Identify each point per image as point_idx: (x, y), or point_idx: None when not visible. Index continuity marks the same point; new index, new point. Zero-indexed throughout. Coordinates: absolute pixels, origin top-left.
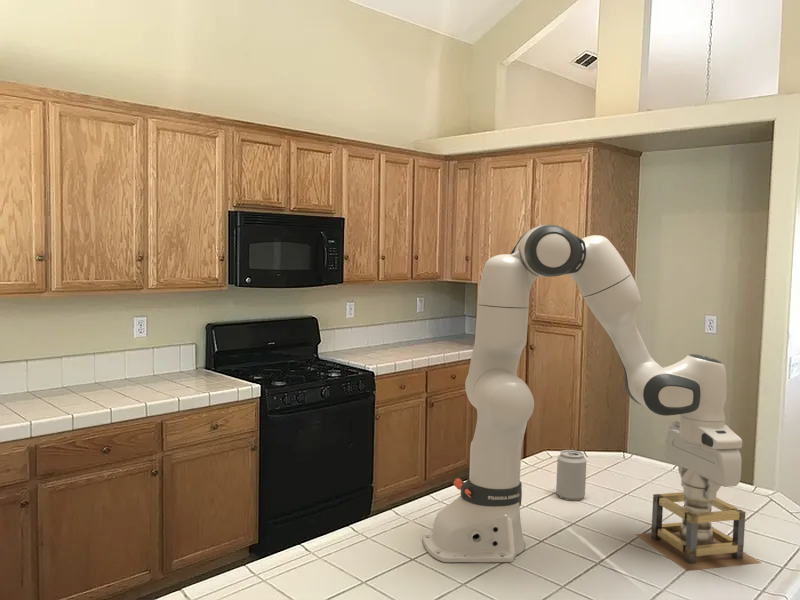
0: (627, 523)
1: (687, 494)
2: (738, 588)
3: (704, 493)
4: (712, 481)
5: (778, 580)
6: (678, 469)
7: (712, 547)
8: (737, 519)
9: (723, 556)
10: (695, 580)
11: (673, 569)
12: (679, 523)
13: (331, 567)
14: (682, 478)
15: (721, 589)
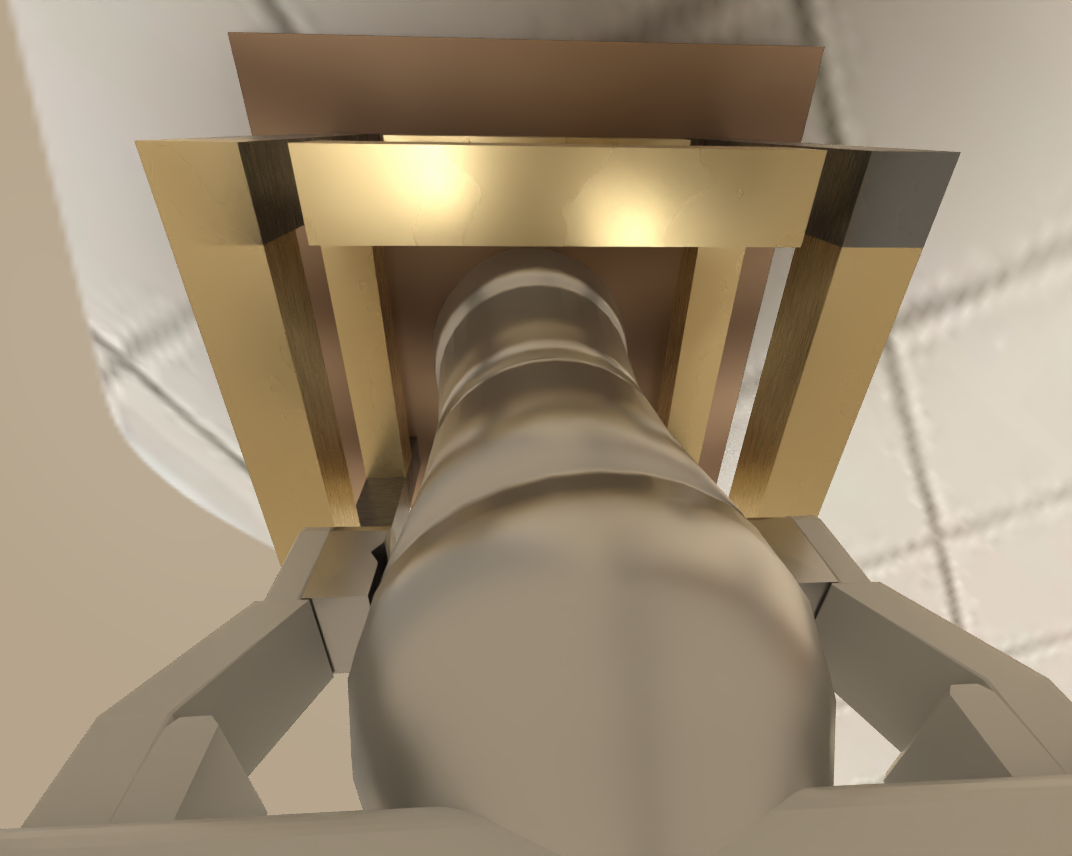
0: (997, 181)
1: (553, 413)
2: (127, 264)
3: (375, 560)
4: (42, 823)
5: (240, 485)
6: (1044, 683)
7: (337, 326)
8: None
9: (416, 398)
10: (196, 65)
11: (350, 16)
12: (708, 364)
13: None
14: (855, 588)
15: (95, 155)
